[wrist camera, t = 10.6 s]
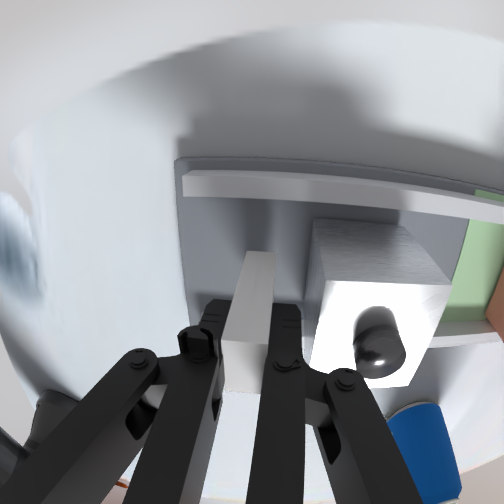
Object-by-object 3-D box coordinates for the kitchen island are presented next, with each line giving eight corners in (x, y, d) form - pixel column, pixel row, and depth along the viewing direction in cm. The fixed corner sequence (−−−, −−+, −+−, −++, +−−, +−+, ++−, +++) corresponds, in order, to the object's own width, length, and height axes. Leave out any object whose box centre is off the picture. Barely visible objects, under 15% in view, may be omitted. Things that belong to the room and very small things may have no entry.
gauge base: (195, 316, 21) (155, 409, 13) (181, 157, 16) (98, 198, 8) (514, 321, 18) (554, 383, 10) (555, 206, 13) (620, 252, 6)
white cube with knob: (303, 308, 17) (305, 405, 11) (313, 218, 15) (329, 297, 8) (382, 311, 17) (412, 401, 10) (403, 225, 14) (464, 300, 8)
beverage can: (394, 400, 23) (415, 511, 12) (448, 393, 22) (477, 491, 12) (374, 432, 26) (384, 527, 15) (423, 426, 25) (441, 512, 14)
